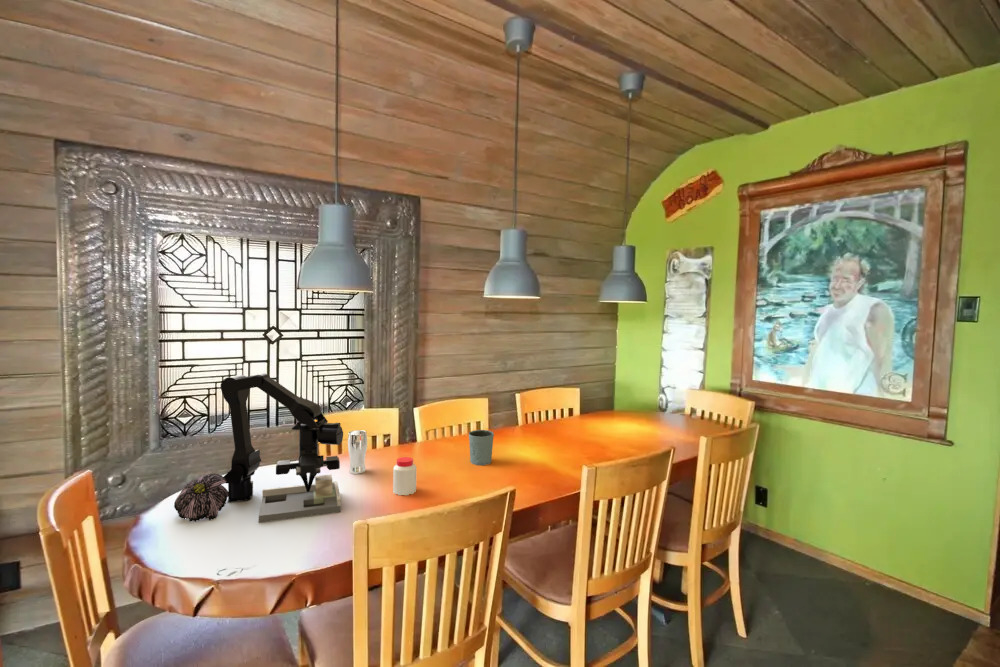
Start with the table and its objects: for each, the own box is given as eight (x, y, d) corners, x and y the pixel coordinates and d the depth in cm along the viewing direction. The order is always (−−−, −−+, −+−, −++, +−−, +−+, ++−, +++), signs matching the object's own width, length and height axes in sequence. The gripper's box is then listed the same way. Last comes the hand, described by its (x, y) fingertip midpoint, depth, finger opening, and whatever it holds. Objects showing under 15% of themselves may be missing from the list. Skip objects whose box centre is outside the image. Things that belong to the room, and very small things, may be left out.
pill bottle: (413, 485, 173) (414, 455, 172) (418, 494, 166) (418, 461, 165) (391, 488, 170) (391, 457, 170) (394, 496, 163) (395, 464, 162)
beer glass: (347, 475, 182) (347, 435, 181) (348, 468, 189) (348, 430, 188) (366, 473, 184) (367, 434, 183) (366, 467, 191) (367, 429, 190)
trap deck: (258, 522, 142) (258, 509, 142) (262, 501, 157) (262, 489, 157) (340, 512, 150) (340, 499, 150) (337, 492, 165) (337, 481, 165)
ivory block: (315, 496, 157) (315, 481, 156) (315, 491, 161) (315, 476, 161) (332, 494, 158) (332, 479, 158) (331, 489, 163) (331, 474, 163)
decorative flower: (159, 491, 139) (198, 460, 153) (159, 522, 143) (197, 489, 157) (206, 508, 138) (241, 475, 152) (205, 538, 142) (239, 504, 156)
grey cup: (494, 458, 205) (495, 430, 204) (491, 466, 195) (492, 437, 194) (470, 457, 206) (470, 429, 205) (466, 465, 196) (466, 435, 195)
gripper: (274, 453, 146) (274, 504, 147) (341, 448, 153) (340, 497, 154) (276, 442, 156) (276, 491, 157) (338, 438, 163) (338, 484, 164)
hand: (308, 491), depth 158 cm, fingers closed
